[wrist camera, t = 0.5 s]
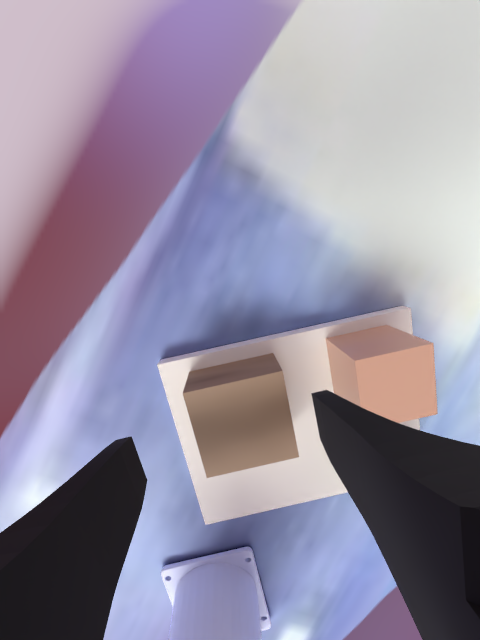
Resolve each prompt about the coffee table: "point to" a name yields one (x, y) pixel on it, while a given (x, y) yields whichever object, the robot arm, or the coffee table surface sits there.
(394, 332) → the terracotta block
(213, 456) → the walnut block
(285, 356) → the cream board
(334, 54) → the coffee table surface
